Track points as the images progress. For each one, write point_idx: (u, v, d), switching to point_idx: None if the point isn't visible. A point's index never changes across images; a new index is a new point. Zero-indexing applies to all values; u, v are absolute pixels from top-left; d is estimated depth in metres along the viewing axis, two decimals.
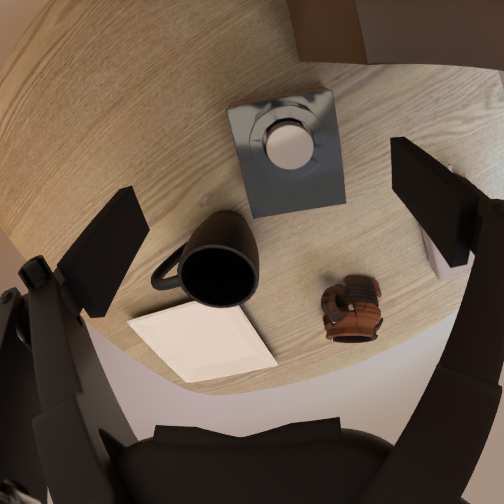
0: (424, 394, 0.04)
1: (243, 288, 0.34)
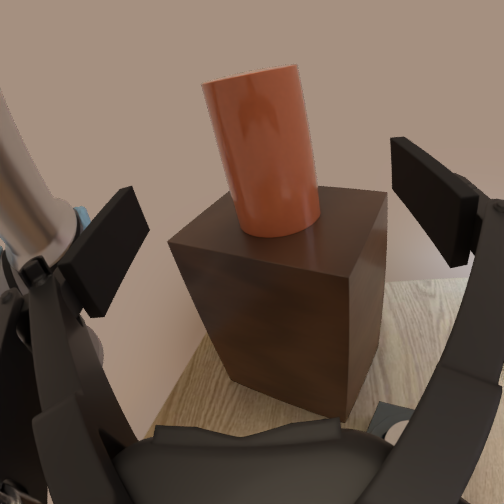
0: (424, 394, 0.04)
1: None
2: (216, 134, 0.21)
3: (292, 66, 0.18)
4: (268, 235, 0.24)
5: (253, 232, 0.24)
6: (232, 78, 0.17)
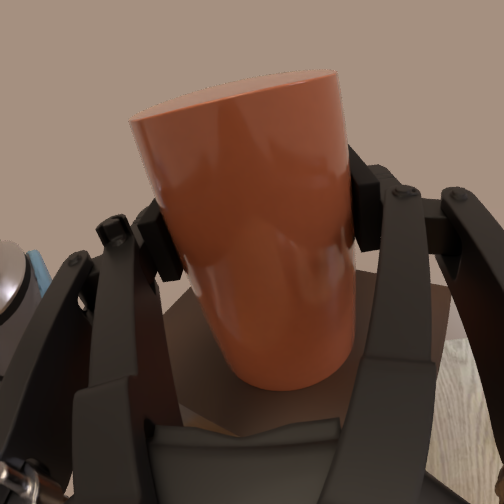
0: (354, 388, 0.04)
1: None
2: (166, 225, 0.11)
3: (331, 76, 0.08)
4: (269, 388, 0.13)
5: (244, 379, 0.14)
6: (181, 111, 0.07)
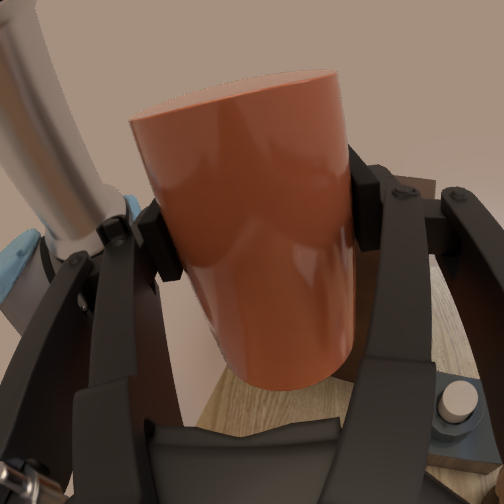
0: (354, 389, 0.04)
1: None
2: None
3: (331, 76, 0.08)
4: (269, 388, 0.13)
5: (244, 379, 0.14)
6: (180, 111, 0.07)
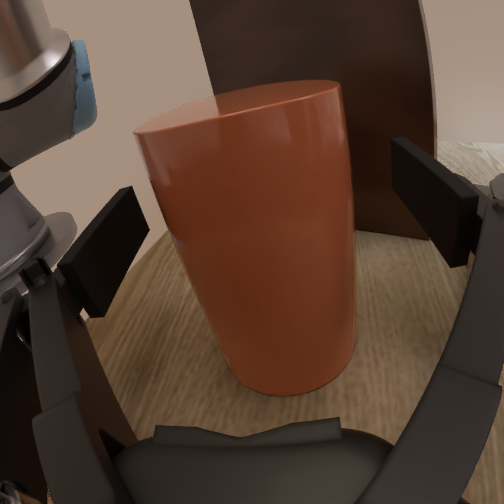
0: (424, 394, 0.04)
1: None
2: None
3: (334, 90, 0.08)
4: (271, 393, 0.13)
5: (247, 383, 0.14)
6: (186, 127, 0.07)
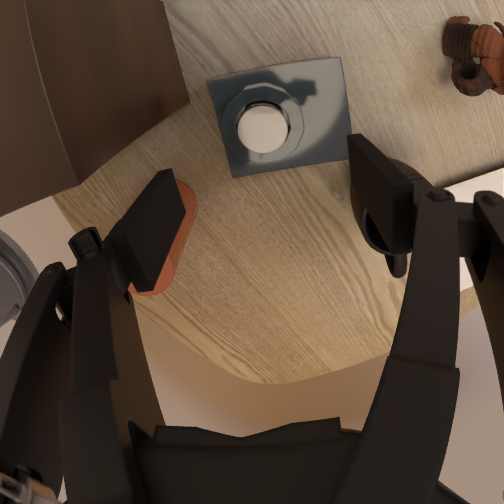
0: (378, 388, 0.04)
1: None
2: None
3: (170, 260, 0.26)
4: None
5: None
6: None
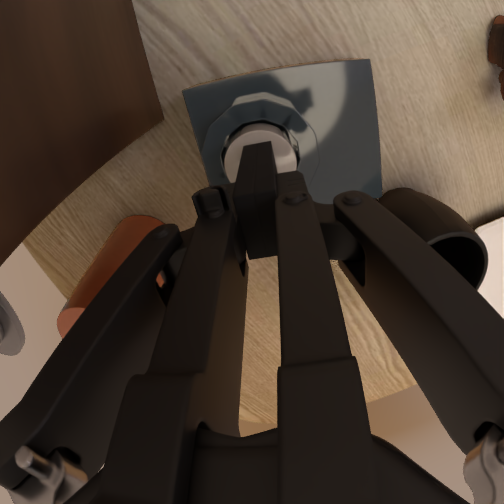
0: (279, 399, 0.04)
1: (470, 239, 0.19)
2: None
3: None
4: None
5: None
6: None
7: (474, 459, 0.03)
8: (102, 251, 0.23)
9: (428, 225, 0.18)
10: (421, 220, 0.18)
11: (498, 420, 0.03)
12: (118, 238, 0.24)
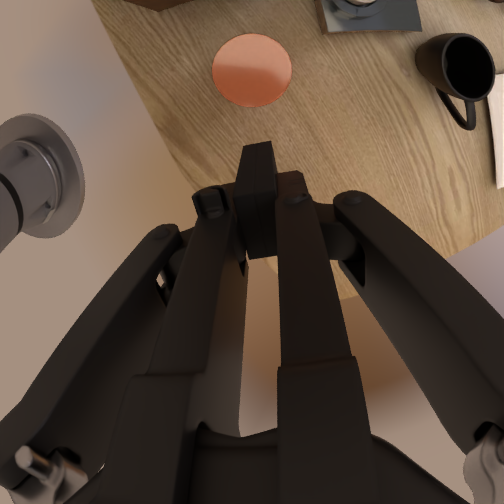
0: (279, 399, 0.04)
1: (479, 54, 0.23)
2: None
3: None
4: None
5: None
6: None
7: (474, 459, 0.03)
8: None
9: (452, 33, 0.22)
10: (448, 34, 0.23)
11: (498, 420, 0.03)
12: None
